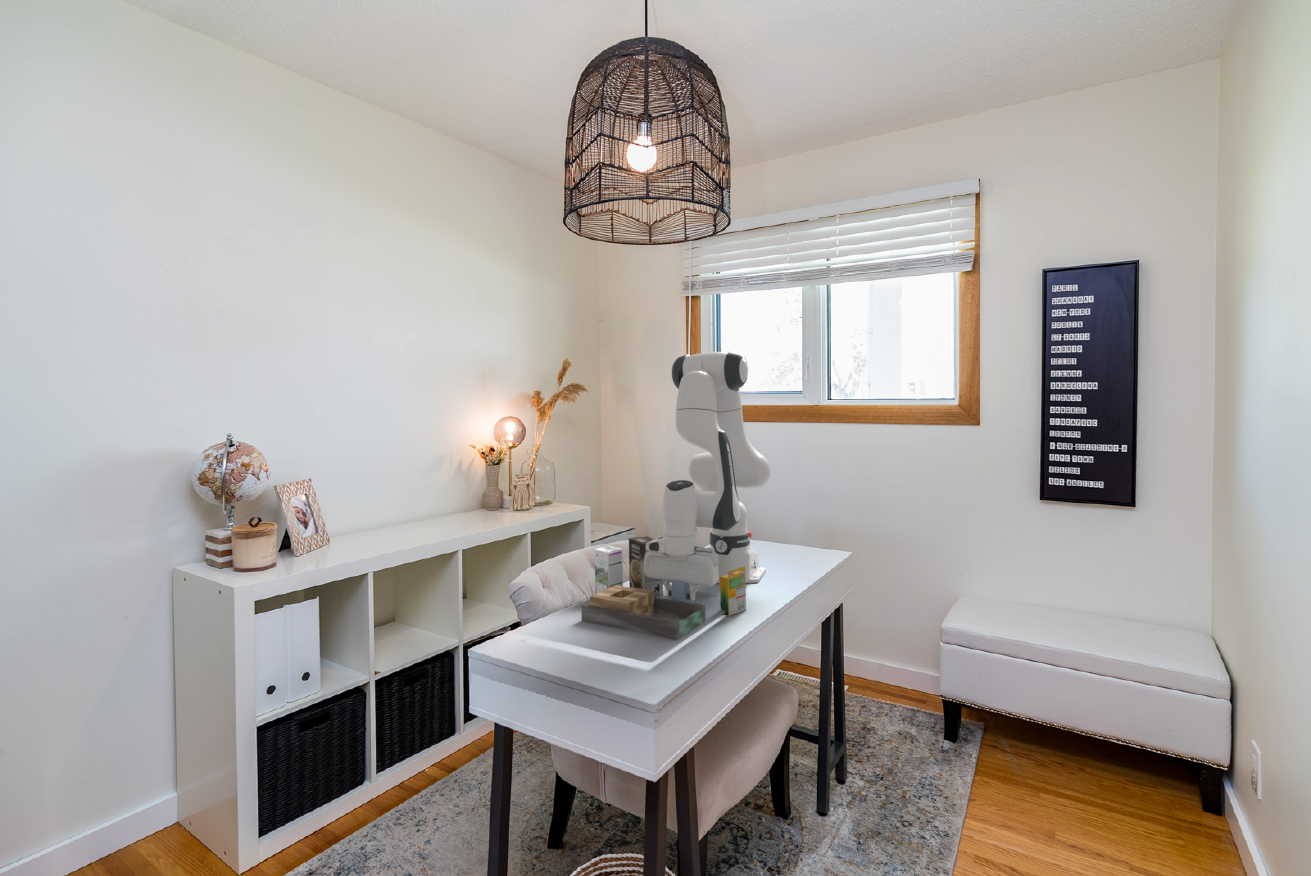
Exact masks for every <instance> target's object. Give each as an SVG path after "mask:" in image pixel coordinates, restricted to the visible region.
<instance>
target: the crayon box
mask: <svg viewBox="0 0 1311 876" xmlns="http://www.w3.org/2000/svg"><path fill="white" fill-rule="evenodd" d="M739 570H740V571H741V572H736V571H739ZM733 572H734V573H733ZM745 572H746V571H745V566H744V567H741V568H737V569H734V570H731V571H728V575H725V576H721V577H720V583H719V597H720V601H719V602H720V611H723V613H722V614H721V616H722V615H723V616H724V617H725V616H726V617H731V616H733V615H736V614H738V613H741V612H744V611H746V610H747V592H746V591H747V590H746V589H747V587H746V584H747V583H746V580H745Z"/></svg>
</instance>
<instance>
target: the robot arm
mask: <svg viewBox="0 0 1311 876" xmlns="http://www.w3.org/2000/svg"><path fill="white" fill-rule="evenodd" d="M748 366H749V365H748V362H747V358H746V357H745V356H744V355H743V354H742V353H741V352H737V351H730V350H729V351H728V352H727V351H726V352H725V351H708V352H704V353H703V352H701V353H694V354H691V355H690V354H685V355H680V356H678V357H677V358H676V359H675V361H674V362H673V363H672V367H671V380H672V383H673V385H674V386H675V387H676V389H678V391H677V397H676V406H675V427H676V431H677V433H678V434H679V436H680V437H681V438H682V439H683V440H684V441H686V442H687V443H689V444H691V445H693V446H695V447H697V448H700V449H703V450H705V451H706V452H702V453H698V454H697V453H696V454H694V456H693V457H692V458H691V460H690V462H689V465H688V475H689V477H690V479H691V481H690V480H688V479H687V480H686V479H685V480H684V479H680V480H672V481H670V482H668V483H667V484H666V485H665V487H664V491H663V500H662V501H663V502H662V519H663V522H664V523H663V524H664V525H663V526H664V527H663V531H662V536H661V537H658V538H654V539H655V540H652V541H650V542H648V543H646V550H647V551H648V552H646V554H645V558H644V573H645V575H646V577H649V578H656V579H663V588H664V589H665V591H666V597H667V598H672V587H671V579H673V580H680V581H684V583H690V592H689V593H687V600H690V602H693V601H694V600H695V599H696V592H697V590H698V589H699V587H700V586H703V587H713V586H716V584H720V577H721V576H725V575H728V571H731V570H734V569H737V568H741V567H744V566H745V571H746V572H745V580H746V584H748V583H759V581H761V579H762V578H763V576H764V575H765V573H766V572H767V568H766V567H764V566H761V565H759V554H758V552H757V551H756V550H755V549H754V547H753V546H751V539H752V538H753V532H752V531H748V511H747V508H746V506H745V504H744V503H743V502H741V501H740V500H739V496H738V490H737V489H739V490H741V489H742V490H750V489H751V490H753V489H757V488H763V487H765V485H766V484H767V483H768V481H769V479H770V476H771V465H770V463H769V460H768V459H767V458H766V457H765V456H764V455H763V454H761V453H760V452H759V451H758V450H757V449H755V447H754V446H753V445H752V443H751V441H750V440H749V437H748V436H747V433H746V431H745V430H746V429H745V425H744V424H745V423H744V416H743V415H744V414H743V406H742V405H743V404H742V399H741V392H740V388H742V387H743V386H744V385H745V384H746V383H747V381H748V376H749V367H748ZM695 486H698V488H699V489H700V490H697V489H696V487H695ZM697 528H707V529H710V532H709V538H708V539H709V545H710V546H709V547H707V548H706V547H702V546H698V545H699V543H698V541H699V540H698V539H699V538H698V537H699V536H698V534H699V533H698V529H697ZM736 572H741V571H740V570H739V571H736ZM733 573H734V572H733ZM761 577H762V578H761Z"/></svg>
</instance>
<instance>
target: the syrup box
mask: <svg viewBox="0 0 1311 876" xmlns="http://www.w3.org/2000/svg"><path fill="white" fill-rule="evenodd" d="M623 571H624V570H623V549H622V548H619V547H616V546H610V545H607V546H606V545H605V546H600V547H598V548H594V583H595V584H594V585H595V586H594V589H595V590H594V594H597V593H599V592H602V591H604V590H606V589H609V588H611V587H613V586H615V585H618V586H624V576H623V575H624V573H623Z"/></svg>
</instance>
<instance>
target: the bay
mask: <svg viewBox="0 0 1311 876" xmlns="http://www.w3.org/2000/svg"><path fill="white" fill-rule="evenodd" d="M580 607H581V622H584V623H590V624H593V625H598V626H599V625H600V626H605V627H610V628H613V629H614V628H615V629H620V630H625V631H630V632H633V633H634V632H636V633H638V634H639V633H640V634H646V635H648V636H655V637H660V638H664V639H665V638H666V639H669V640H674V641H677V640H679V639H681V638H682V637H683V636H684V635H686V634H688V633H689V632H691V631H692V630H694V629H695V628H697V627H699V626H700V625H702V624H703V623H705V621H706V605H704V604H699V603H692V602H690V603H687V602H681V601H675V600H672V599H669V598H668V599H667V598H662V597H658V596H654V614H653V615H659V616H664V617H670V618H675V619H682V620H680V621H679V620H672V619H668V618H664V617H663V618H662V617H658V616H657V617H656V616H653V615H651V616H646V615H641V614H635V613H630V612H625V611H619V610H614V609H608V608H603V607H597V606H592V605H590V604H581V606H580Z"/></svg>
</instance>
